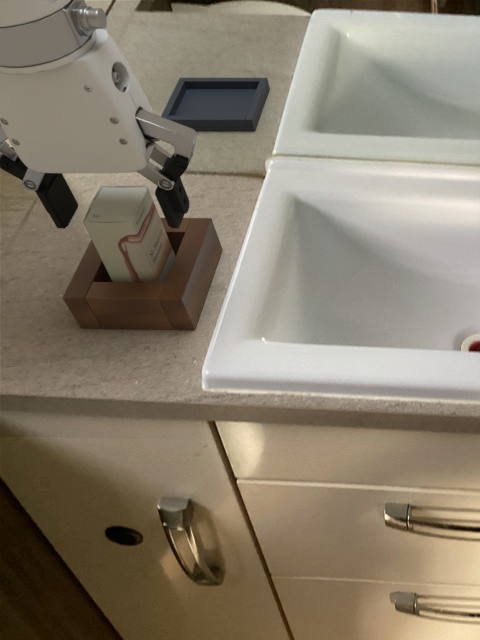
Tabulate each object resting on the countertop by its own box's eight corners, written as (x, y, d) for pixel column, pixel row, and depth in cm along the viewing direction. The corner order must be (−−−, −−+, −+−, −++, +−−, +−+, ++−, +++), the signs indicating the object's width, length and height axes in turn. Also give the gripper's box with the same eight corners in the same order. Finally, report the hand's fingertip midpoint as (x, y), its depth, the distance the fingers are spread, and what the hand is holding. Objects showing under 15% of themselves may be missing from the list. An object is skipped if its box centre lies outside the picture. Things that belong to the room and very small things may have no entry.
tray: (163, 130, 90) (159, 119, 89) (183, 88, 96) (179, 77, 94) (255, 131, 90) (251, 119, 89) (270, 88, 95) (267, 77, 94)
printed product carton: (170, 307, 73) (131, 224, 65) (123, 307, 73) (78, 224, 65) (184, 267, 76) (149, 183, 68) (139, 267, 76) (98, 183, 68)
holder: (80, 328, 71) (61, 297, 68) (117, 248, 78) (102, 217, 75) (195, 329, 71) (181, 299, 68) (222, 249, 77) (211, 217, 74)
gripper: (170, -2, 56) (233, 189, 70) (-64, 1, 57) (42, 190, 70) (138, 54, 52) (212, 248, 65) (-117, 57, 52) (8, 247, 66)
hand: (124, 217), depth 68 cm, fingers open, 9 cm apart
